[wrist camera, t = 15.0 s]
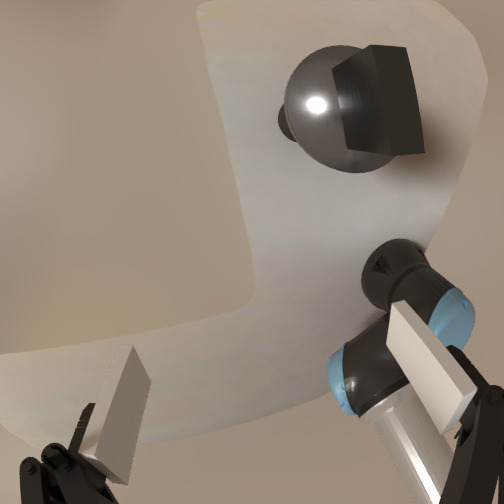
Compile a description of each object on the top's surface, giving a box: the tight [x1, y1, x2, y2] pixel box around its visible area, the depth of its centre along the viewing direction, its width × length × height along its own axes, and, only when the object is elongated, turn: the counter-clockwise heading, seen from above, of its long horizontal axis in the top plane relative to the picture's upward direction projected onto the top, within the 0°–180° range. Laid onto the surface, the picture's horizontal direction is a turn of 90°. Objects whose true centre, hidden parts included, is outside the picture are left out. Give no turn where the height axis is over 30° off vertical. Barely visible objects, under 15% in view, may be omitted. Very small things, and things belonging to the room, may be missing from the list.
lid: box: [284, 45, 425, 173], centre depth 20 cm, size 13×13×10 cm
